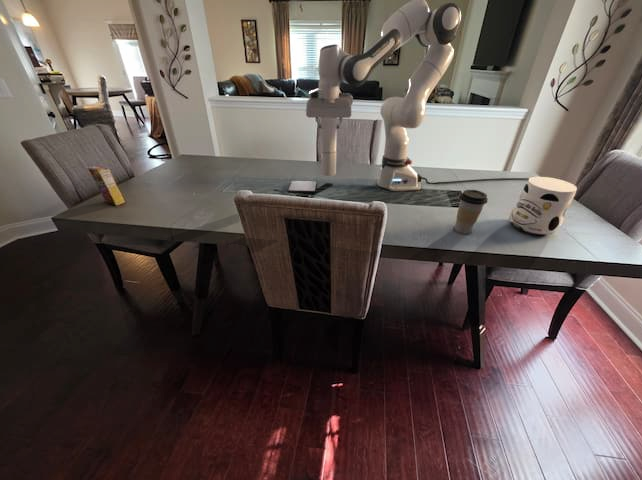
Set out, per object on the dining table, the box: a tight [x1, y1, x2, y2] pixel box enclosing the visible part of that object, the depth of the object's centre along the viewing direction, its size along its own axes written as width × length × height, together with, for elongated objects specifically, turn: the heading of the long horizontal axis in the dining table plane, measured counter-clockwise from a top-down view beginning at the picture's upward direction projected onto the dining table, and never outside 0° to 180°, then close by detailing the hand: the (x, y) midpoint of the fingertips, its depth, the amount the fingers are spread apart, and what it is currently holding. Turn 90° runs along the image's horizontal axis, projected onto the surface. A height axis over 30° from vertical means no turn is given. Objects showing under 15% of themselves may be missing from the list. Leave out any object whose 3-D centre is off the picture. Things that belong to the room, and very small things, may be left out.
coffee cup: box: [454, 189, 489, 235], centre depth 106 cm, size 9×9×15 cm
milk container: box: [508, 176, 578, 236], centre depth 107 cm, size 17×17×18 cm
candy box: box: [87, 165, 126, 206], centre depth 122 cm, size 9×4×15 cm, turn 60°
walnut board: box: [287, 180, 318, 194], centre depth 142 cm, size 13×13×1 cm
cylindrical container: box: [320, 118, 338, 177], centre depth 134 cm, size 7×7×25 cm
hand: (328, 128), depth 129 cm, fingers closed on cylindrical container, 7 cm apart
